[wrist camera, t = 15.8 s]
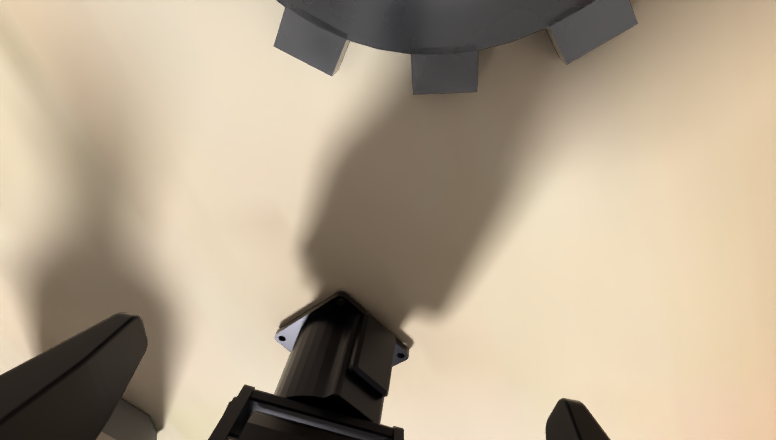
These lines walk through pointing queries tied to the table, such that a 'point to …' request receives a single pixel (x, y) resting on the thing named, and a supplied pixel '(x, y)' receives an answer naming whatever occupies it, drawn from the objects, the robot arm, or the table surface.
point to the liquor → (128, 424)
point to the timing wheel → (444, 32)
